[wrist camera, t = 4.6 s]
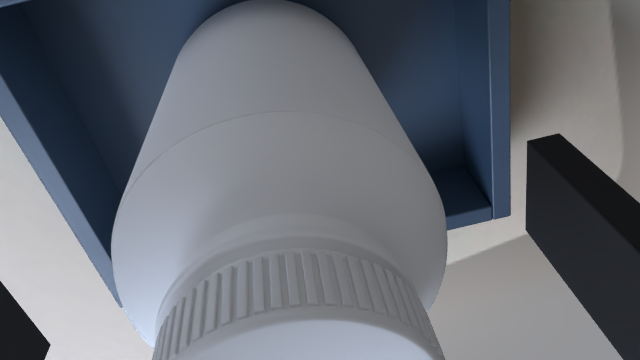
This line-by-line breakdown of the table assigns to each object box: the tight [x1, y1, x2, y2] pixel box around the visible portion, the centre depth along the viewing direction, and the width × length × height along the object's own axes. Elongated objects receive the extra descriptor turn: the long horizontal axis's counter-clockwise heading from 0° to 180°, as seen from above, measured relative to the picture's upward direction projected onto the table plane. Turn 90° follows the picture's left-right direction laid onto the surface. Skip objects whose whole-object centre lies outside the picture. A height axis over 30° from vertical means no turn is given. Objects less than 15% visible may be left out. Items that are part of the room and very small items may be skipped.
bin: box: [0, 0, 511, 308], centre depth 20 cm, size 18×14×4 cm
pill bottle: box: [111, 0, 447, 360], centre depth 15 cm, size 8×8×15 cm
